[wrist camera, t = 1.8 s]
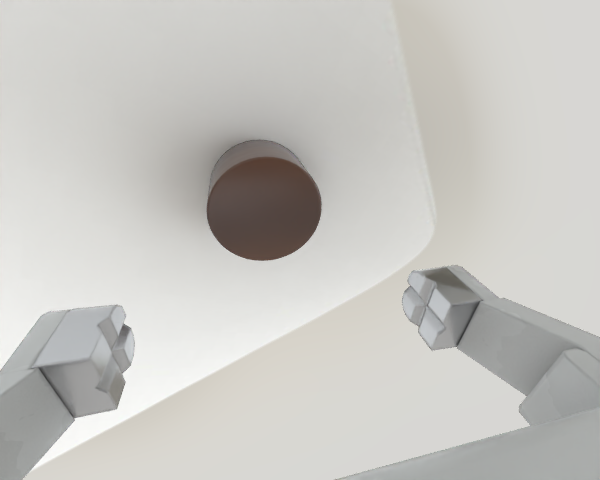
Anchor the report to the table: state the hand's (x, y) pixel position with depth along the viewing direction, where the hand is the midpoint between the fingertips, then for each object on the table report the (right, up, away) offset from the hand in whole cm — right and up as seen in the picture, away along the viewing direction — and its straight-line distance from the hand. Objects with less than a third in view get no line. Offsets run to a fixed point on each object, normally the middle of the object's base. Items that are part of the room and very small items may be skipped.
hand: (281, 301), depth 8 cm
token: (-2, +4, +7) cm, 8 cm away
